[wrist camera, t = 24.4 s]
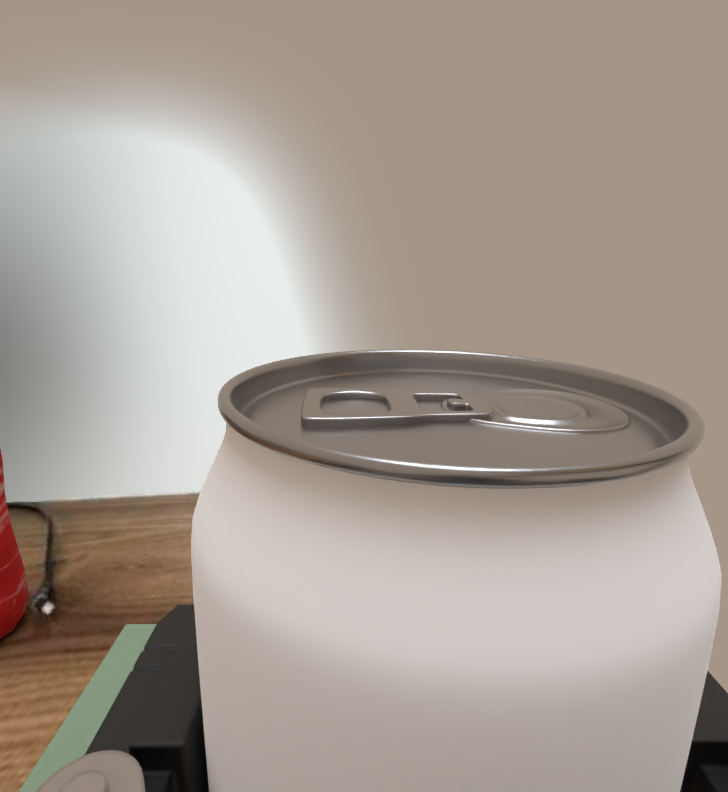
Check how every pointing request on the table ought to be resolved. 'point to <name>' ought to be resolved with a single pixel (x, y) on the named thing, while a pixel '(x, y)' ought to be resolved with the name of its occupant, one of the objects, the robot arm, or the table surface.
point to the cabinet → (91, 705)
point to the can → (451, 578)
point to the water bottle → (10, 570)
